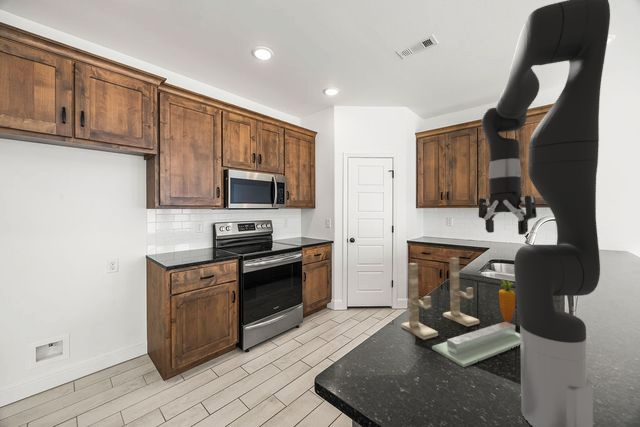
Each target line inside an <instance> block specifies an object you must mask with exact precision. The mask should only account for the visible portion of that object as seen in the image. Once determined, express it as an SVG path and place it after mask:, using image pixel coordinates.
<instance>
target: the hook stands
mask: <svg viewBox="0 0 640 427" xmlns="http://www.w3.org/2000/svg"><path fill="white" fill-rule="evenodd" d="M418 266H419V265H418V263H416V262H410V263H407V271H408V272H407V273H408V274H407V278H408V279H407V281H408V282H407V283H408V284H407V285H408V286H407V287H408V289H407V290H408V317H409V318H408V321H407V322H401V323H400V324H401V328H402V329H404V330H406V331H408V332H409V333H411V334H413V335H414V336H416V337H418V338H420V339H422V340H424V341H425V340H428V339H432V338H435V337H437V336H439V331H437V330H435V329H433V328H431V327H429V326H427V325H425V324H423V323H421V322H420V316H419V315H420V314H419V312H420V311H419V307H420V308H422V309H425V310H427V309H431V308H432V296H430V295H427V296H422V300H421V299H419V267H418ZM449 293H450V294H449V297H450V300H449V301H450V311H445V312H443V313H442V316H443V317H444V318H446V319H449V320H451V321H454V322H456V323H458V324H461V325H463V326H466V327H471V326H474V325H478V324H480V319H478V318H476V317H473V316H470V315H467V314H465V313H462V312H461V304H460V302H461V299H460V298H461V297H462V298H464V299H469V300H470V299H473V298H474V287H471V286H469V287H466V288H465V291H461V290H460V258H459V257H449Z"/></svg>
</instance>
